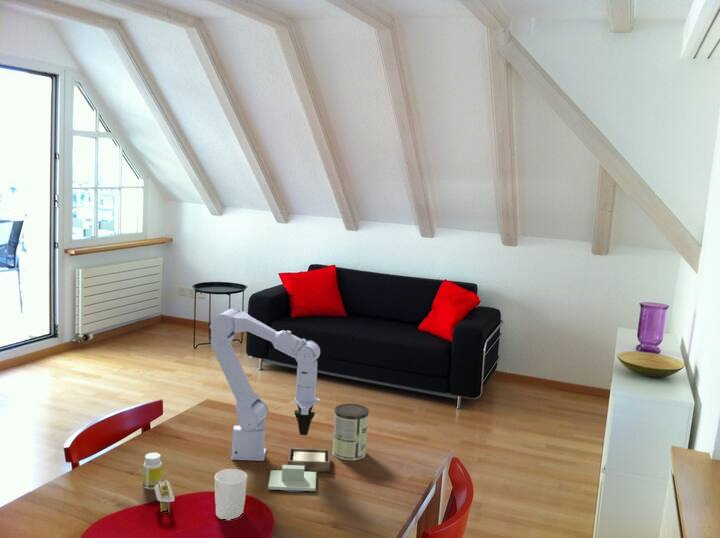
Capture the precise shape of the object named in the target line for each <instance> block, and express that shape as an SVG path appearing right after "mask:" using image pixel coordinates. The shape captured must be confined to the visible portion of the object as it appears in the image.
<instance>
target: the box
mask: <svg viewBox="0 0 720 538" xmlns="http://www.w3.org/2000/svg"><path fill="white" fill-rule="evenodd" d="M287 465H301V466H305V467H304V472H316V473H322V474H323V473H324V474H325V473H326V474H327V473H329V474H330V471H331V450H330V449H327V448H303V447H302V448H300V447H289V449H288V455H287Z"/></svg>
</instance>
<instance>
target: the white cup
mask: <svg viewBox="0 0 720 538" xmlns="http://www.w3.org/2000/svg"><path fill="white" fill-rule="evenodd" d="M247 484H248V473H246V472H245V471H243V470H241V469H237V468H236V469H235V468H227V469H222V470H220V471H217V472H216V473H215V474H214V500H215V501H214V503H215V515H216V517H217V518H218V519H220V520H222V519H226V520H225V521H232V520H231V519H234V518H237V517H239V516H240V515H241V514H242V513H243V514H244V511H243V510H244V509H245V504H246V503H245V502H246V494H247V486H248V485H247Z"/></svg>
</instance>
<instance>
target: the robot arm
mask: <svg viewBox="0 0 720 538" xmlns="http://www.w3.org/2000/svg"><path fill="white" fill-rule="evenodd" d="M209 329H210V330H211V331H210V332H211V333H210V337H211V338H210V345H211V346H210V347H211V349H212V351H213V353H214V356H215V357H216V359H217V362H218V364H219V365H220V368H221V370H222V372H223V374H224V377H225V379H226V380H227V383H228V386H229V387H230V389H231V392H232V394H233V397H234V398H235V400H236V403H235V412H236V416H237V422H238V425H236V424H235V425H234V426H233V429H232V438H231V441H232V442H231V457H230V458H231V460H234V461H235V460H236V461H255V462H257V461H258V462H259V461H260V462H264V461H265V458H266V452H267V448H266V447H265V441H266V439H265V436H266V434H265V433H266V423H265V419H266V418H267V417H268V415H269V407H268V405H267V403H266V402H265V401H264V400H262V398H261V397H260V394H259V393H257V392H255V391H253V388H252V386H251V384H250V382H249V378H248V377H247V375H246V373H245V371H244V369H243V366H242V365H241V363H240V360H239V358H238V356H237V354H236V352H235V349H234V347H233V346H232V342H233V339H234V337H235V335H236V334H239V333H245V332H248V333H250V334H252V335H255V336H257V337H259V338H262V339H264V340H265V341H266V340H267V341H269V342H271V344H272V345H273V348H274V349H275V350H278V351H280V352H281V353H284V354H285V355H287V356H290V357H291V358H294V359H295V361H296V362H297V368H296V382H295V383H296V385H295V398H294V402H295V404H296V405H297V409H298V410H297V409H295V410H294V415H295V418H296V421H297V426H298V431H299V435H300V436H308V434H309V431H310V426H311V422H312V420H313V418H314V417H315V415H316V413H315V412H313V408H314V405H315V404H319V403H320V398H316V397H317V395H316V394H317V379H318V360H317V359H318V358H319V357H320V355H321V348H320V346H319V345H318V343H316V342H315V341H313V340H307V339H305V338H300V337H298V336H297V335H294V334H292V331H291V330H284V329H282V330H280V331H277V330H275V329H273V328H272V327H270V326H268V325H267V324H265V323H263V322H262V321H260V320H257V319H256V318H255V317H252V316H251V315H249V314H248V312H246V311H243V310H242V311H241V310H240V309H238V308H235V307H231V308H228V309H227V310H226V311H223V312H222V313H219V314H217V315H215V316H214V317H213V319H212V321H211V323H210V325H209Z"/></svg>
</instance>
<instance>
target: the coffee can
mask: <svg viewBox="0 0 720 538" xmlns="http://www.w3.org/2000/svg"><path fill="white" fill-rule="evenodd" d="M369 413H370V410H369V408H368V407H366V406H365V405H362V404H357V403H342V404H339V405H336V406H335V408H334V420H333V423H334V424H333V442H332V444H333V445H332V446H333V447H332V455H333V456H334V457H335V458H337V459H340V460H342V461H358V460H362V459H364V458H365V457H366V455H367V454H366V453H367V452H366V451H367V437H368V422H369Z"/></svg>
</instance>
